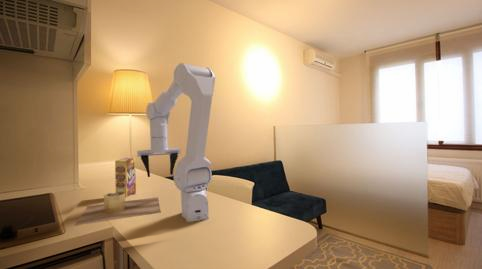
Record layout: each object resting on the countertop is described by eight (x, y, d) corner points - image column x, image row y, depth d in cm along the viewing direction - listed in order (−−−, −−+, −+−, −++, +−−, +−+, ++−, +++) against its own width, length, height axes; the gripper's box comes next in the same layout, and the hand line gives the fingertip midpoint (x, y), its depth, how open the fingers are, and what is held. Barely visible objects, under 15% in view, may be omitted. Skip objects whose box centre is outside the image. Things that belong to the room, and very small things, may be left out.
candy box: (127, 201, 88) (125, 160, 87) (115, 202, 88) (113, 160, 87) (137, 194, 97) (135, 157, 96) (126, 195, 97) (124, 157, 96)
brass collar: (125, 211, 73) (124, 195, 73) (103, 214, 71) (102, 198, 71) (125, 206, 78) (124, 191, 78) (105, 209, 76) (104, 193, 76)
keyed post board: (161, 217, 72) (160, 195, 72) (74, 230, 64) (73, 206, 63) (158, 201, 88) (157, 183, 87) (88, 210, 79) (87, 191, 79)
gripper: (178, 136, 91) (179, 171, 92) (137, 137, 86) (138, 175, 86) (180, 136, 85) (182, 174, 85) (136, 138, 79) (138, 179, 80)
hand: (160, 175), depth 85 cm, fingers open, 7 cm apart
